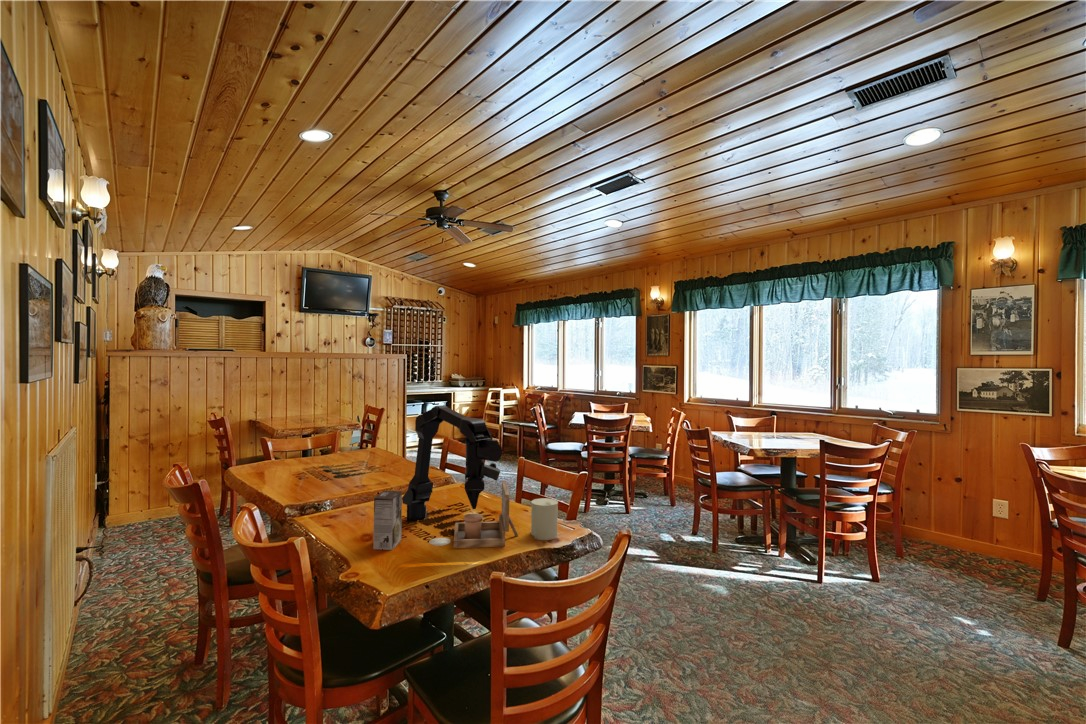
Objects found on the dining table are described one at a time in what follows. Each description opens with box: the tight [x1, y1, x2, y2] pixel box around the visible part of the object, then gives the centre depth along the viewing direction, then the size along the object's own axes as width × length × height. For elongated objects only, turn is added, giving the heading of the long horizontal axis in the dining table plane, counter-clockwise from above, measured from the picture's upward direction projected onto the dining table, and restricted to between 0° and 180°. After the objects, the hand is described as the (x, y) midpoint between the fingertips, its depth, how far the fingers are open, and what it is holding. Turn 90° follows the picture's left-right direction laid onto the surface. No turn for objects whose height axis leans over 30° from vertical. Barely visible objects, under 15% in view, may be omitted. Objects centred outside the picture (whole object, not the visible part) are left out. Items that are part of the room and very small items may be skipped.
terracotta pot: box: [463, 512, 483, 539], centre depth 169 cm, size 6×6×7 cm
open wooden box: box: [453, 480, 519, 549], centre depth 170 cm, size 21×19×17 cm
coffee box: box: [372, 490, 403, 551], centre depth 164 cm, size 9×6×16 cm
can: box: [530, 497, 559, 541], centre depth 175 cm, size 9×9×12 cm
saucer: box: [428, 537, 452, 547], centre depth 165 cm, size 7×7×1 cm
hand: (474, 505), depth 170 cm, fingers open, 9 cm apart
